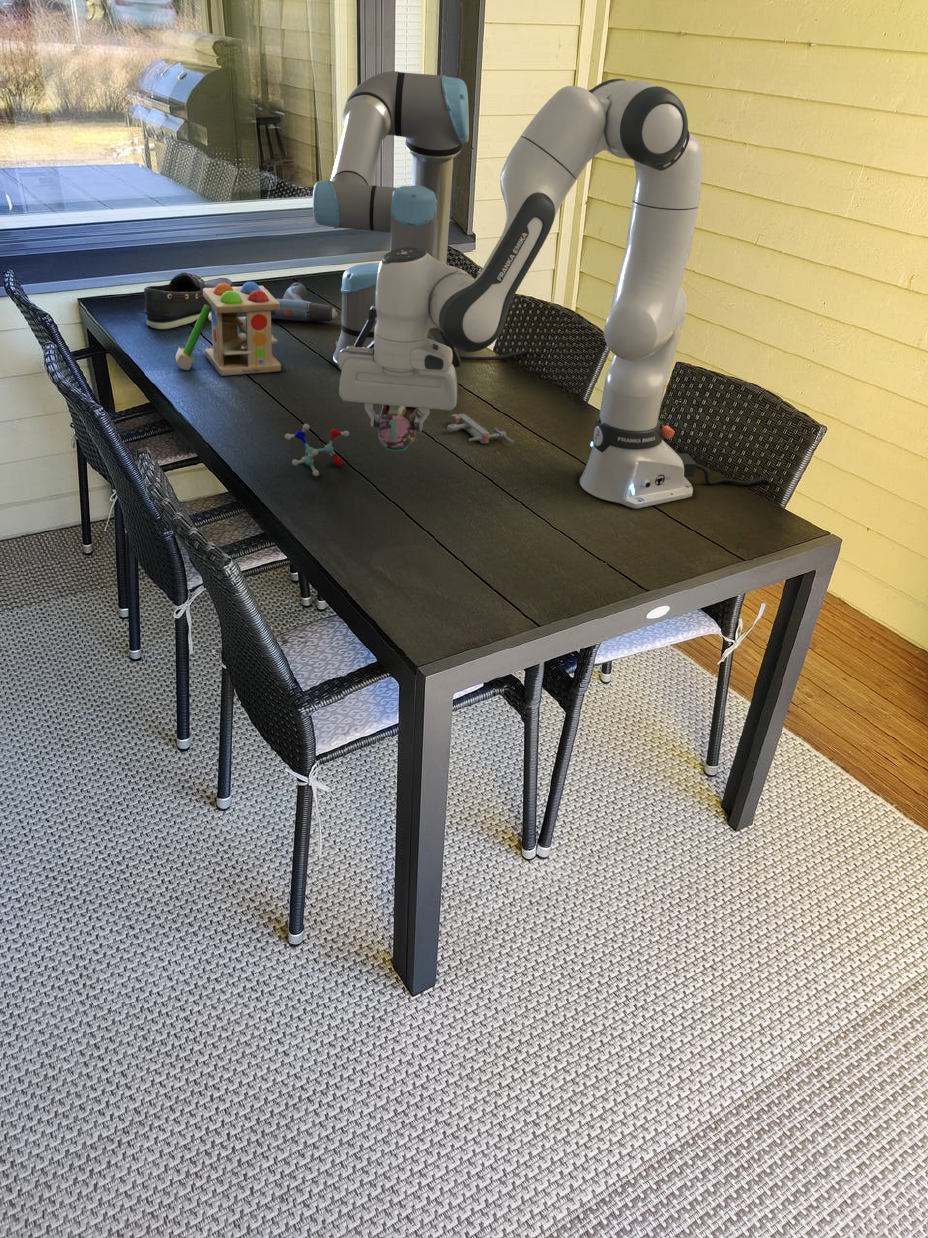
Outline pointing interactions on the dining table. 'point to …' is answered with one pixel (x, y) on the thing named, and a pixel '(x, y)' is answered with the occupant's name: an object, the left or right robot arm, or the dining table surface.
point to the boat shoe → (178, 300)
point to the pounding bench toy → (229, 347)
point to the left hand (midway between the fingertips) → (403, 397)
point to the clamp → (468, 424)
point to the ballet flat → (397, 426)
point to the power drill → (301, 307)
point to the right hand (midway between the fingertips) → (397, 427)
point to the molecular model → (313, 452)
